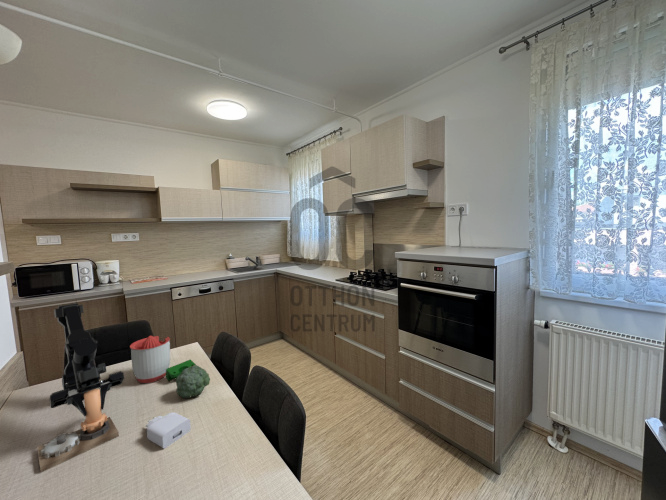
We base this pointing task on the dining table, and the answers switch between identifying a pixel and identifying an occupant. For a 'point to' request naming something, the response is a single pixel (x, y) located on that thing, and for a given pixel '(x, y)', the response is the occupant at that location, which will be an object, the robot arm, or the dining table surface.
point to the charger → (167, 429)
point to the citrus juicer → (150, 358)
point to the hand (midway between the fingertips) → (94, 412)
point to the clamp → (177, 369)
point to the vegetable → (192, 381)
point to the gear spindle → (93, 412)
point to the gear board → (77, 448)
